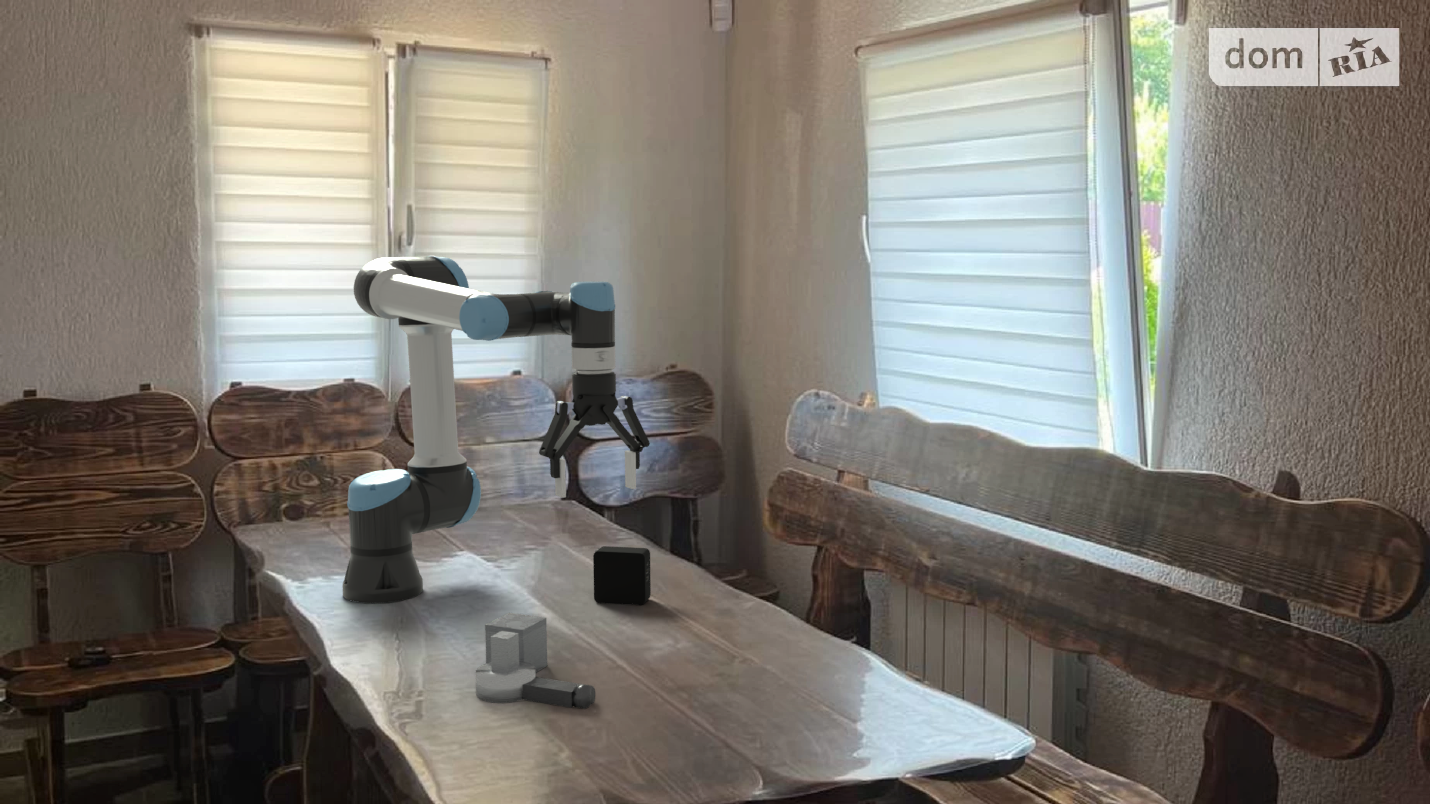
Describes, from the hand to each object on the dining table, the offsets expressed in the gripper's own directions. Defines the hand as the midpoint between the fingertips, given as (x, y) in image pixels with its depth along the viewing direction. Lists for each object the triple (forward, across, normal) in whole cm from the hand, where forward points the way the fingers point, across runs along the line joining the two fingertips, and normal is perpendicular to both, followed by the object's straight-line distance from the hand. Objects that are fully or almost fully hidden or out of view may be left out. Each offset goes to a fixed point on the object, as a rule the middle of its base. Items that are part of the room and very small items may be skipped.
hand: (596, 492), depth 228 cm
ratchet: (+25, -24, -26) cm, 44 cm away
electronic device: (+24, +11, +12) cm, 29 cm away
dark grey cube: (+24, -21, -14) cm, 35 cm away
